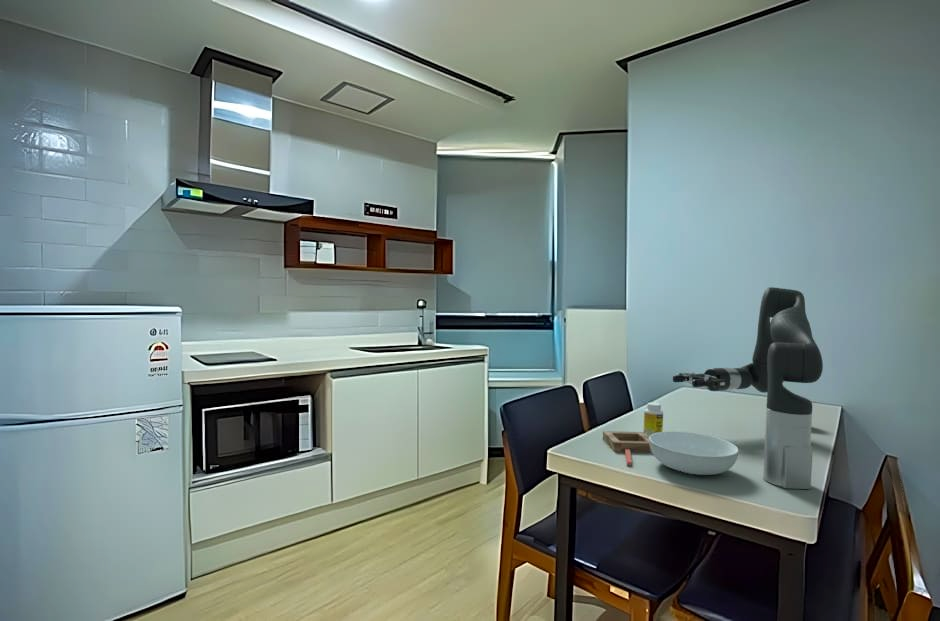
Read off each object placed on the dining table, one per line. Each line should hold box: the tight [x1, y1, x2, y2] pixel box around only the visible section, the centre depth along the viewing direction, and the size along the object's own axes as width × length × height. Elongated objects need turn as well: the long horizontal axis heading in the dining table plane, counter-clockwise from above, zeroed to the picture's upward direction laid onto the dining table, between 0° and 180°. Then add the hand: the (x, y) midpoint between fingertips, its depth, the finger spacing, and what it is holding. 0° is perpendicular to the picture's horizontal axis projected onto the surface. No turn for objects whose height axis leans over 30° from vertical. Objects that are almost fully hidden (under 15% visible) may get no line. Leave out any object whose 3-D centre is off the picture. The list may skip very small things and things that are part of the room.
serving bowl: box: [649, 430, 740, 476], centre depth 130 cm, size 21×21×7 cm
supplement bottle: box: [643, 402, 664, 437], centre depth 159 cm, size 6×6×10 cm
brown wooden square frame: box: [602, 430, 652, 453], centre depth 149 cm, size 12×12×2 cm
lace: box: [624, 449, 633, 467], centre depth 136 cm, size 12×1×1 cm, turn 165°
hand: (683, 381), depth 163 cm, fingers open, 8 cm apart
